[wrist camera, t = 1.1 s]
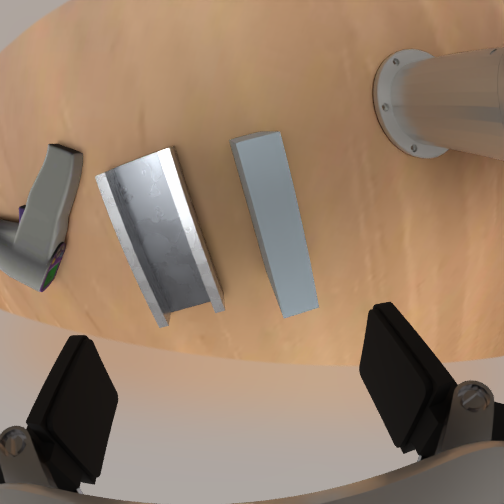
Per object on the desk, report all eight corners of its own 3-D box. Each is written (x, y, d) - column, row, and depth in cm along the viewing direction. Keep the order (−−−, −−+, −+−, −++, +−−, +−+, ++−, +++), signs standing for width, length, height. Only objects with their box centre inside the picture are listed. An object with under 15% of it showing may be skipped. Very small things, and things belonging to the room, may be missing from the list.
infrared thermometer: (96, 156, 27) (61, 283, 31) (12, 125, 24) (-14, 245, 27) (79, 157, 23) (45, 300, 26) (-11, 124, 20) (-34, 257, 23)
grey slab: (228, 139, 28) (235, 143, 19) (259, 131, 28) (280, 131, 19) (266, 270, 33) (283, 318, 25) (293, 262, 33) (318, 307, 25)
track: (107, 171, 27) (94, 176, 24) (174, 145, 27) (168, 147, 24) (163, 309, 33) (159, 327, 30) (223, 292, 33) (225, 310, 30)
